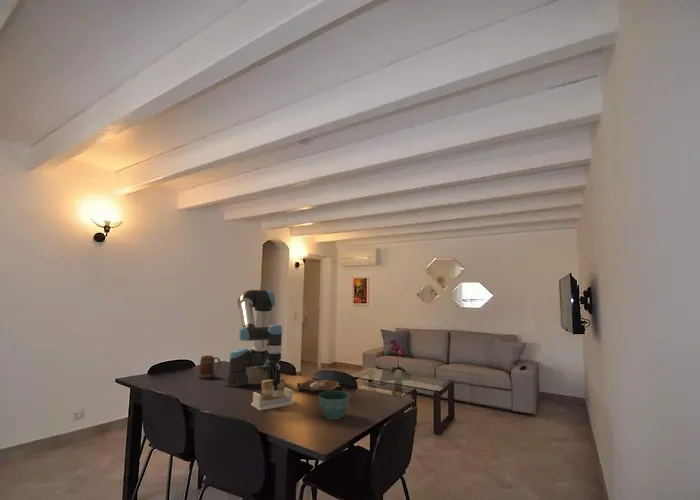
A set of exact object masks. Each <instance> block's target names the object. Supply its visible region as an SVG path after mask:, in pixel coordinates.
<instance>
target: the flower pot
mask: <svg viewBox="0 0 700 500" xmlns="http://www.w3.org/2000/svg"><path fill="white" fill-rule="evenodd" d="M350 398H351V394H350V393H349V392H347V391H343V390H341V391H326V392H322V393H320V394H318V403H319V407H320V409H321V411H322V413H323V415H324V418H325V419H328V420H332V421H333V420H339V419H343V417H344V415H345V413H346V411H347V410H348V408H349V404H350Z"/></svg>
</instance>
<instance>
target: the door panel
mask: <svg viewBox="0 0 700 500" xmlns="http://www.w3.org/2000/svg"><path fill="white" fill-rule="evenodd" d="M285 381H286V380H285V379H284V378H282V377H280V384H278V388H277V396H275V397H272V388H273V385H272V384H273V379H271V380H267V379H266V380H265V379H263V380H261V390H260V391H261V393H260V395H261V400H263V401H265V400H271V399H277V398H283V397H284V388H285Z"/></svg>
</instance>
